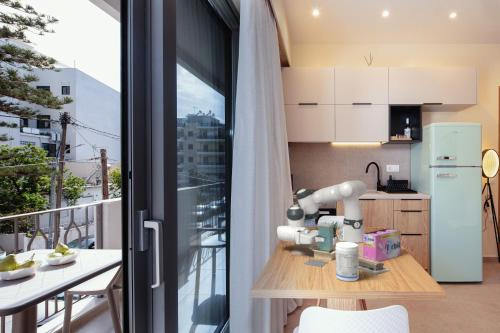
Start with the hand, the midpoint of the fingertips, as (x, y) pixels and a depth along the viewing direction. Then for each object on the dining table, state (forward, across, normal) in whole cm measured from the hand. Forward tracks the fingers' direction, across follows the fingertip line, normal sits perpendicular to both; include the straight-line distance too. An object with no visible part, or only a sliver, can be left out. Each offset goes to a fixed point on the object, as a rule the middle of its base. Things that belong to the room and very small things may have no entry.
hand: (327, 238), depth 169 cm
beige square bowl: (-1, 0, -10) cm, 11 cm away
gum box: (+24, -18, -11) cm, 31 cm away
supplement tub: (+18, +24, -11) cm, 32 cm away
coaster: (-1, +13, -10) cm, 17 cm away
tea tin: (-1, 0, -10) cm, 10 cm away
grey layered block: (+21, +5, -11) cm, 25 cm away
